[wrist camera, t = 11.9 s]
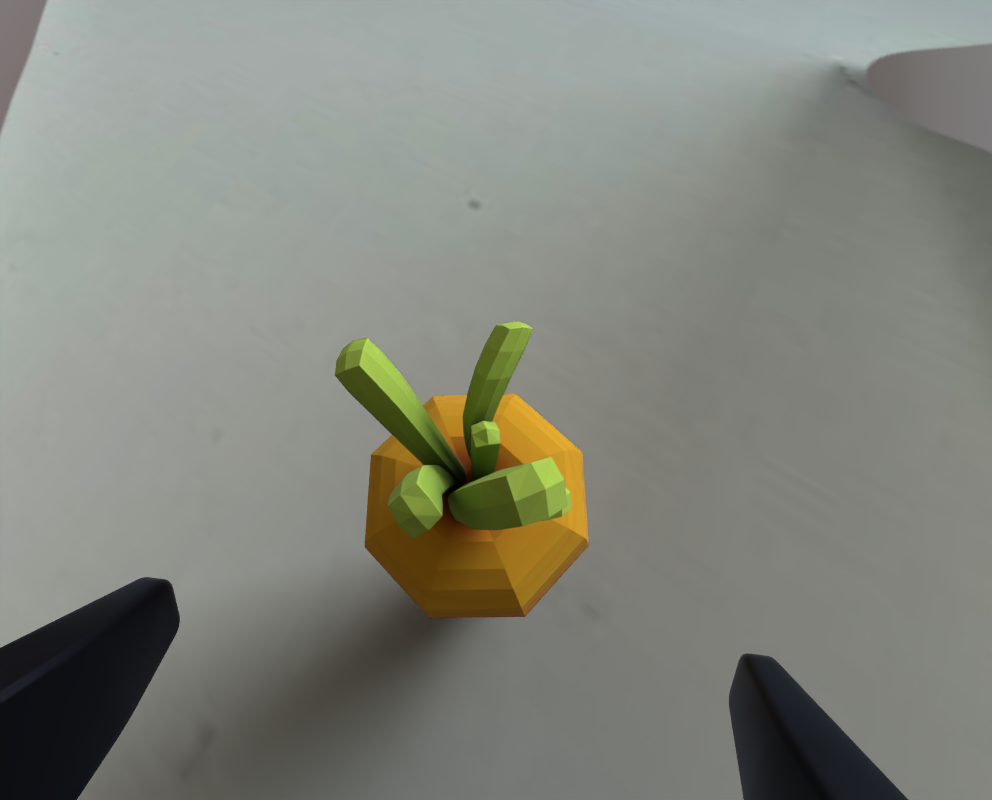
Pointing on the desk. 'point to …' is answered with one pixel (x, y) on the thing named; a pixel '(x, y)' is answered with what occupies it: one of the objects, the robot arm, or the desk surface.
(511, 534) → the carrot
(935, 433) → the desk surface
